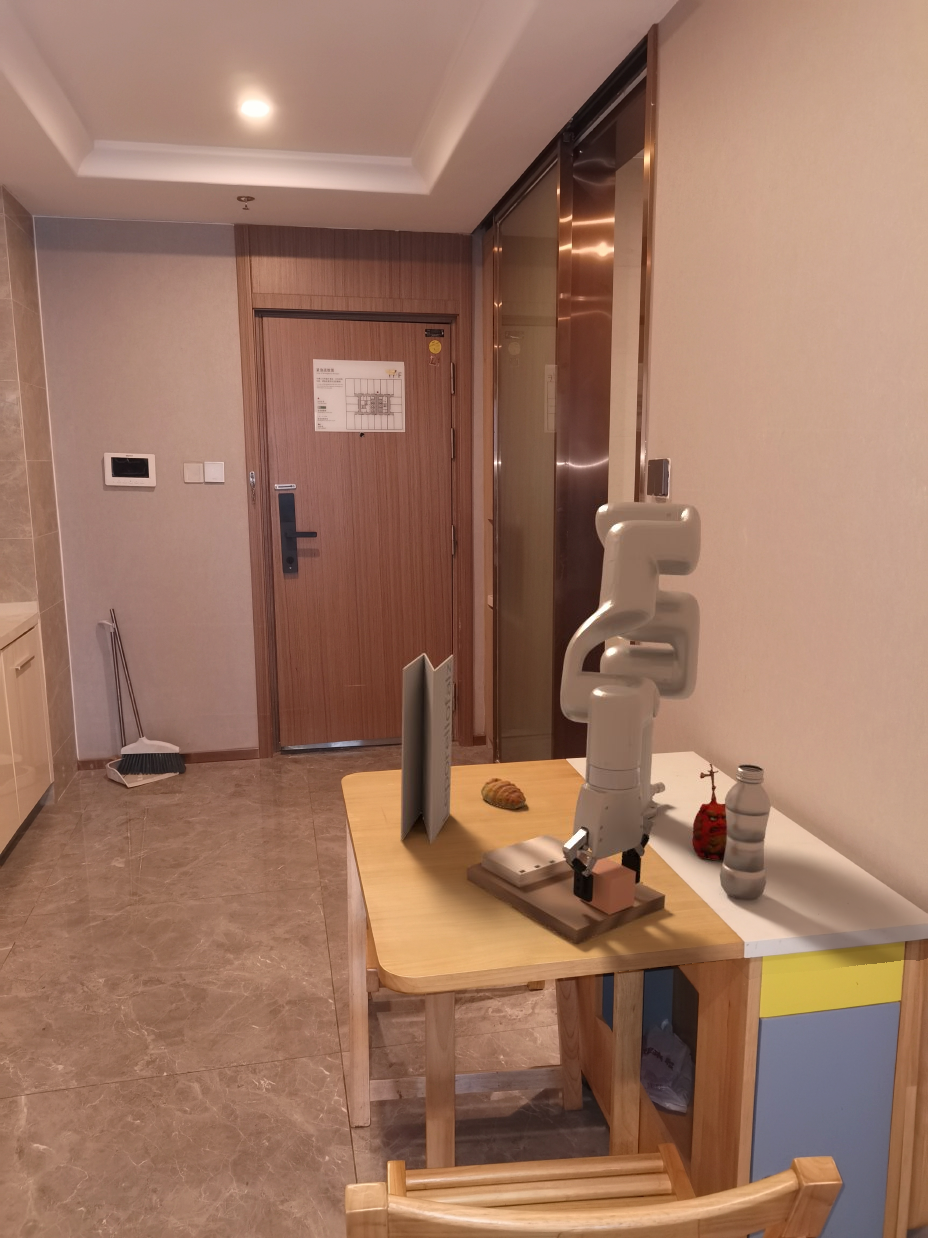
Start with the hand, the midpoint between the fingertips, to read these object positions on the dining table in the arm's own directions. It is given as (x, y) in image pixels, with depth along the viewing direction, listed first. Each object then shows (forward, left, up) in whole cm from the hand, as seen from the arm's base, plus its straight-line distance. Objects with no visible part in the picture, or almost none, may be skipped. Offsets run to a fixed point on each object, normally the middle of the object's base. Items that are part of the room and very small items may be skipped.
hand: (606, 889), depth 129 cm
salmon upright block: (0, 0, -2) cm, 2 cm away
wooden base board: (0, -9, -4) cm, 9 cm away
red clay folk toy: (-31, -5, -4) cm, 31 cm away
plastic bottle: (-22, +7, -4) cm, 23 cm away
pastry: (-18, -44, -4) cm, 48 cm away
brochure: (+2, -42, -4) cm, 42 cm away
